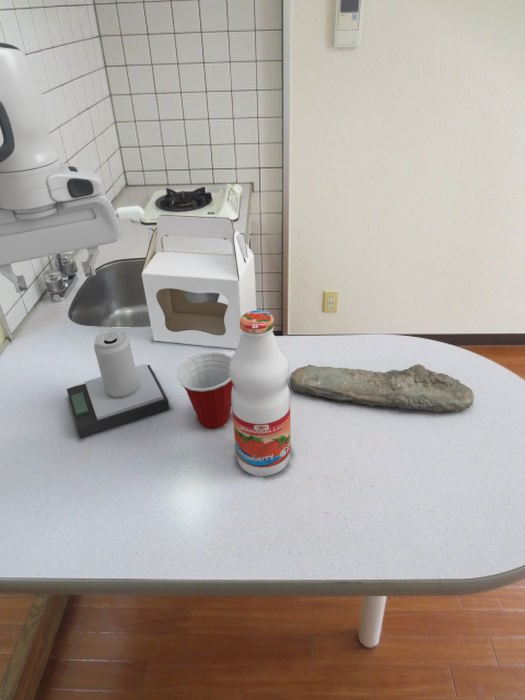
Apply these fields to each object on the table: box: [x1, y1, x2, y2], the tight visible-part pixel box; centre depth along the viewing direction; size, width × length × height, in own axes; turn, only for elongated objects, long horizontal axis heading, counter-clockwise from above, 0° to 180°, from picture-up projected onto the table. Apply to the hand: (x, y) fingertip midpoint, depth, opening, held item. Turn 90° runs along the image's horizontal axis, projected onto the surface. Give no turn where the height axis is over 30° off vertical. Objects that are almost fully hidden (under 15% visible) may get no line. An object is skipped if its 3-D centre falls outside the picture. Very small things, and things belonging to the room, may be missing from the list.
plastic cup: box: [176, 351, 233, 430], centre depth 96 cm, size 11×11×12 cm
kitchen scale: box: [66, 363, 170, 439], centre depth 103 cm, size 17×13×3 cm
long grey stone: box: [288, 363, 475, 413], centre depth 102 cm, size 35×5×10 cm
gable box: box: [140, 214, 258, 350], centre depth 117 cm, size 22×13×28 cm, turn 77°
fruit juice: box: [229, 309, 292, 477], centre depth 83 cm, size 9×9×28 cm
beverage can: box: [93, 329, 138, 397], centre depth 99 cm, size 6×6×12 cm
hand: (56, 282), depth 75 cm, fingers open, 8 cm apart
